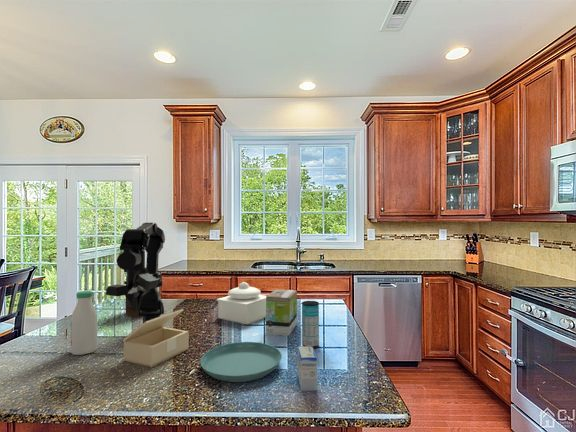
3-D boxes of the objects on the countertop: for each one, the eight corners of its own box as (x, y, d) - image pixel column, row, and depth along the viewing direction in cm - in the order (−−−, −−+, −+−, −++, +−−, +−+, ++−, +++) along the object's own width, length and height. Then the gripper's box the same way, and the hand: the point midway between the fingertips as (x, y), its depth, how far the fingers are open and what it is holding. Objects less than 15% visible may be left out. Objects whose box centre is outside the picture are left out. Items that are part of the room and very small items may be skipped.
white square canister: (271, 315, 157) (271, 280, 157) (247, 325, 141) (246, 287, 142) (243, 309, 166) (242, 277, 166) (216, 318, 151) (216, 283, 151)
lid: (123, 341, 106) (122, 339, 106) (162, 326, 120) (161, 324, 120) (146, 323, 102) (145, 321, 102) (183, 310, 116) (182, 308, 116)
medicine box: (297, 377, 94) (297, 346, 94) (313, 376, 94) (312, 345, 94) (300, 391, 86) (300, 357, 86) (317, 390, 87) (317, 357, 87)
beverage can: (320, 343, 120) (320, 301, 120) (317, 349, 114) (317, 305, 114) (304, 341, 121) (303, 300, 121) (300, 347, 116) (300, 304, 116)
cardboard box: (123, 360, 106) (123, 341, 106) (162, 343, 120) (162, 326, 120) (152, 367, 100) (152, 347, 101) (188, 349, 115) (188, 331, 115)
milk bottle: (102, 348, 116) (102, 290, 116) (82, 357, 109) (82, 295, 109) (86, 345, 118) (86, 288, 119) (65, 354, 111) (65, 293, 111)
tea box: (290, 336, 127) (290, 297, 127) (264, 334, 129) (264, 296, 129) (297, 324, 142) (297, 289, 142) (274, 323, 144) (274, 288, 144)
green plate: (207, 352, 112) (207, 342, 113) (279, 350, 114) (279, 340, 114) (192, 389, 88) (192, 376, 88) (284, 385, 90) (284, 372, 90)
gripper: (129, 271, 103) (129, 322, 103) (173, 263, 120) (173, 307, 120) (104, 268, 108) (104, 317, 107) (150, 262, 125) (150, 304, 124)
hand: (135, 311), depth 115 cm, fingers closed
